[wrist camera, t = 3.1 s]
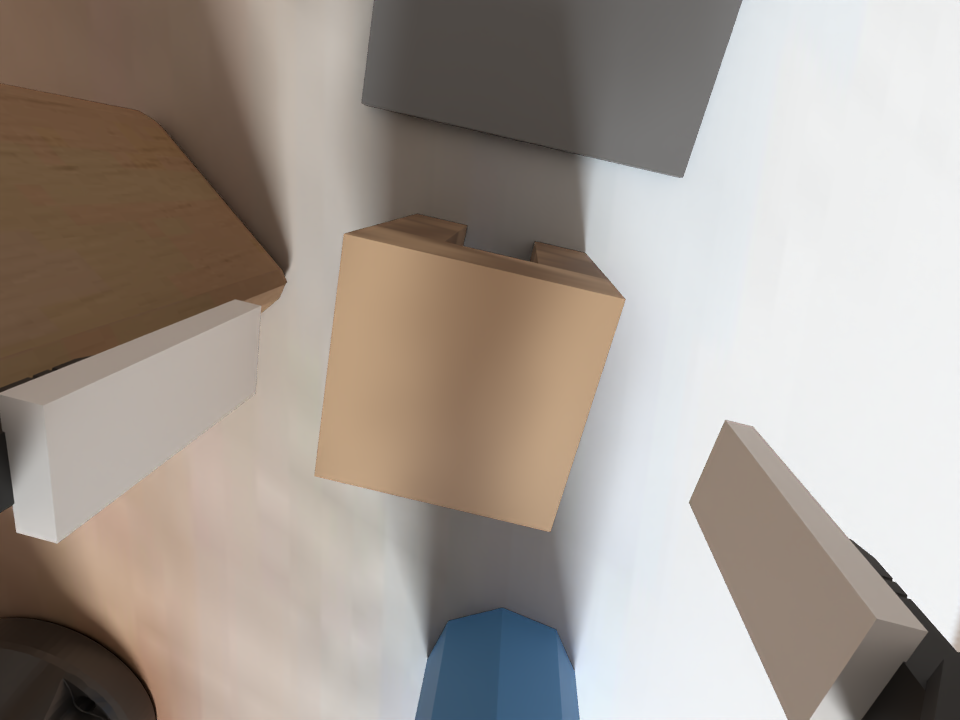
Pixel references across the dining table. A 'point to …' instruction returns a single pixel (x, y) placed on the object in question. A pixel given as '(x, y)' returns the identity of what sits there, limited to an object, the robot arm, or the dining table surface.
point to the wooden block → (107, 233)
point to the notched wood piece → (462, 369)
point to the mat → (556, 71)
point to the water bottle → (498, 671)
